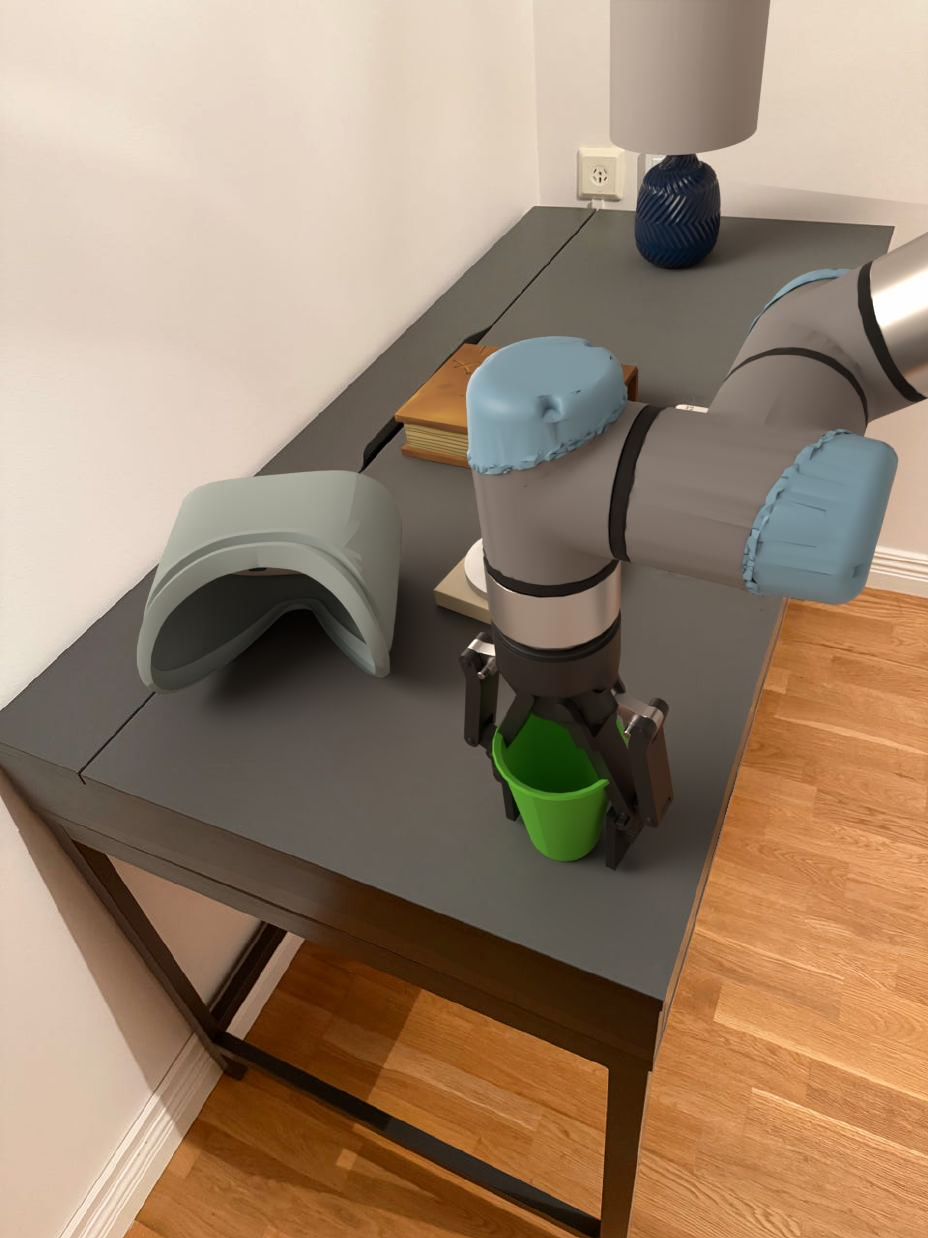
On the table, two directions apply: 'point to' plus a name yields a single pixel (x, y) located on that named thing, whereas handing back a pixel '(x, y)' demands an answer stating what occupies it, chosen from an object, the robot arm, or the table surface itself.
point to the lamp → (683, 110)
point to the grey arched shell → (272, 572)
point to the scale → (461, 595)
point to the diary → (455, 408)
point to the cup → (554, 788)
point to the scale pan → (476, 569)
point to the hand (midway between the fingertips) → (567, 829)
